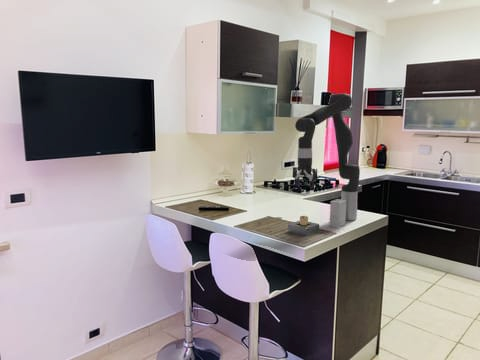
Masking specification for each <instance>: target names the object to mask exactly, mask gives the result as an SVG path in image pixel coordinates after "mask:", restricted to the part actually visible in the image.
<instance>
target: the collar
mask: <svg viewBox="0 0 480 360" xmlns="http://www.w3.org/2000/svg"><path fill="white" fill-rule="evenodd" d="M287 232H288V233H291V234H296V235H301V236H304V237H309V236H311V235H313V234H316V233H318V232H320V223H316V222H311V221H308V226H301V225H300V220H298V221H295V222H291V223H289V224H287Z"/></svg>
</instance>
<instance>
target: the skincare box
mask: <svg viewBox="0 0 480 360" xmlns="http://www.w3.org/2000/svg"><path fill="white" fill-rule="evenodd" d="M329 210H330V211H329V227H331V228H332V227H333V228H338V229H340V228H341V227H344V226H345V225H346V221H347V220H346V200H342V199H341V198H336V199H333V200H331V201H330V207H329Z"/></svg>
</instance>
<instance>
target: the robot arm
mask: <svg viewBox="0 0 480 360" xmlns="http://www.w3.org/2000/svg"><path fill="white" fill-rule="evenodd" d="M352 104H353V98H352V96H351V94H348V93H333V94H331V96H330V98H329V104H328V105H326V106H323V107H320V108H318V109H316V110H314V111H313V112H312V113H310V114H309V113H308V114H307V115H304V116H302V117H299V118H298V119H297V120H296V122H295V124H294V125H295V130H296V131H298V132H301V133H304V134H303V136H300V137H299V138H298V140H297V141H298V143H297V144H298V147H297V149H298V150H297V166H293V167H292V178H293V179H295V186H296V187H300V185H301V183H300V182H301V179H300V178H301V177H307V178H308V180H309V188H310V189H314V187H315V181H317V180H318V169H317V168H312V165H313V138H314V135H315V131H316V126H318V125H320V124H322V123H323V122H325V121H326V120H328V119H330V118H331V117H332V120H333V121H332V122H333V126H334V134H335V143H336V147H337V148H336V149H337V157H338V159H337V160H338V173H339V176H340V178H341V179H343V180H348V183H347V184H343V185H342V186H341V196H340V197H341V198H340V199H342V200H346V221H356V220H357V216H358V188H359V184H360V175H361V174H360V173H361V169H360V166H359V165H357V164H354V163H353V164H352V163H349V161H348V155H349V153H350V150H351V149H352V146H353V144H354V143H353V141H354V140H353V133H352V130H351V128H350V126H349V125H348V123H347V122H346V120H345V119H344V116H343V113H342V112H345V111H347V110H349V109H350V108H351V106H352Z"/></svg>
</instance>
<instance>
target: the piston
mask: <svg viewBox="0 0 480 360" xmlns="http://www.w3.org/2000/svg"><path fill="white" fill-rule="evenodd" d="M299 221H300V225H301V226H308V222H309V217H308V216H307V215H301V216H300V217H299Z"/></svg>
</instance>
